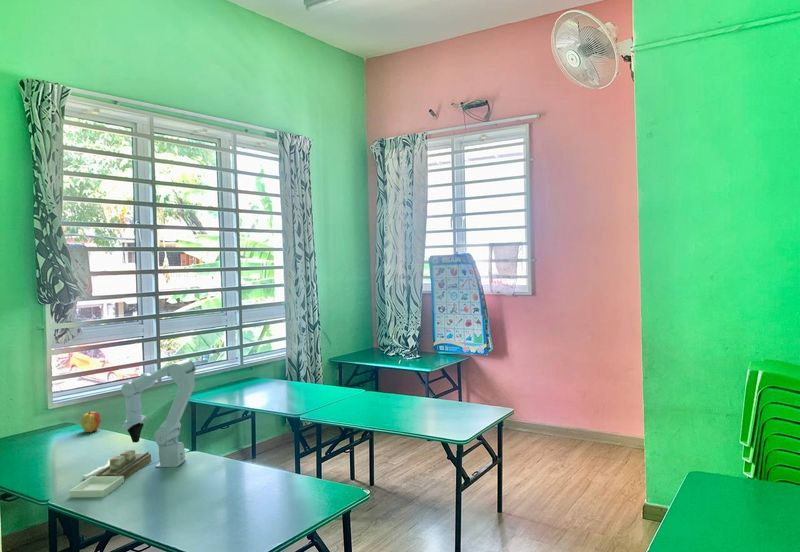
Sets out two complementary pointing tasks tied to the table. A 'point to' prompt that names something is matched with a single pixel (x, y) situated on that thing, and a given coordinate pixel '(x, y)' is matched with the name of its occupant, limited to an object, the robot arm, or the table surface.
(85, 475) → the knife
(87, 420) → the apple
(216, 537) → the table surface
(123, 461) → the chip front
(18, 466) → the table surface
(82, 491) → the tray
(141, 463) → the slot block
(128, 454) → the beige cube
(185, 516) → the table surface
